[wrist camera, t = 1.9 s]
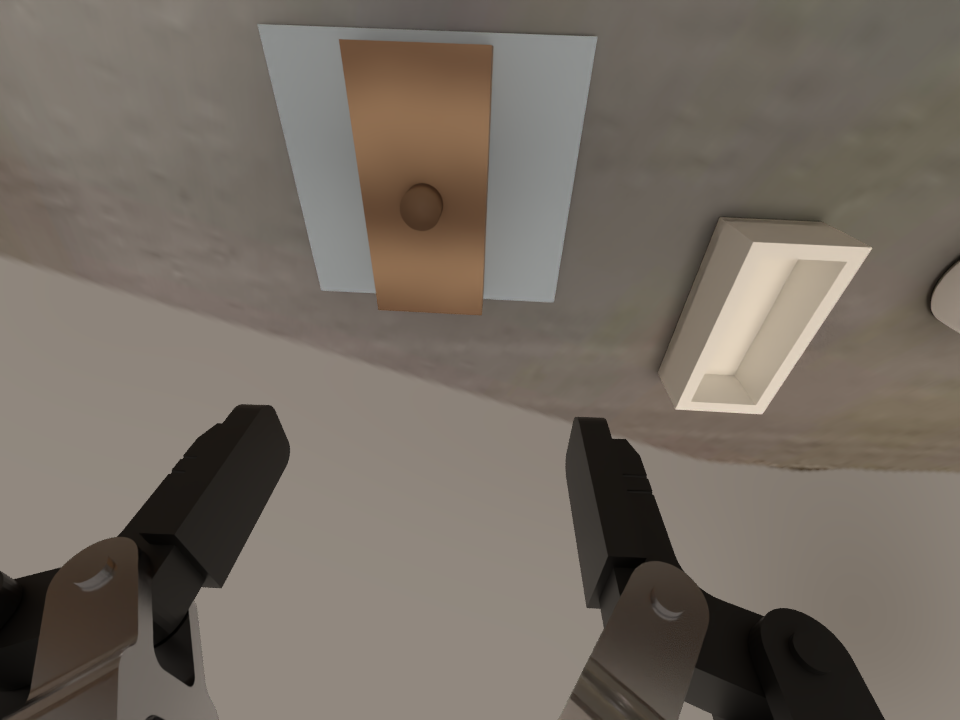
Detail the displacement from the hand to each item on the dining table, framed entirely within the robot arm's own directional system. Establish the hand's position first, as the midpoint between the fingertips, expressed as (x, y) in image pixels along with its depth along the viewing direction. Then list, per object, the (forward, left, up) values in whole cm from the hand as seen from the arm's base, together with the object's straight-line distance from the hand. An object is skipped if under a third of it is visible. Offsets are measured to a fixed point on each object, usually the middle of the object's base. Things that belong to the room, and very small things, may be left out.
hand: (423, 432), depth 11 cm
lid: (-2, -2, -17) cm, 17 cm away
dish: (+5, +18, -17) cm, 25 cm away
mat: (-2, -2, -17) cm, 17 cm away
